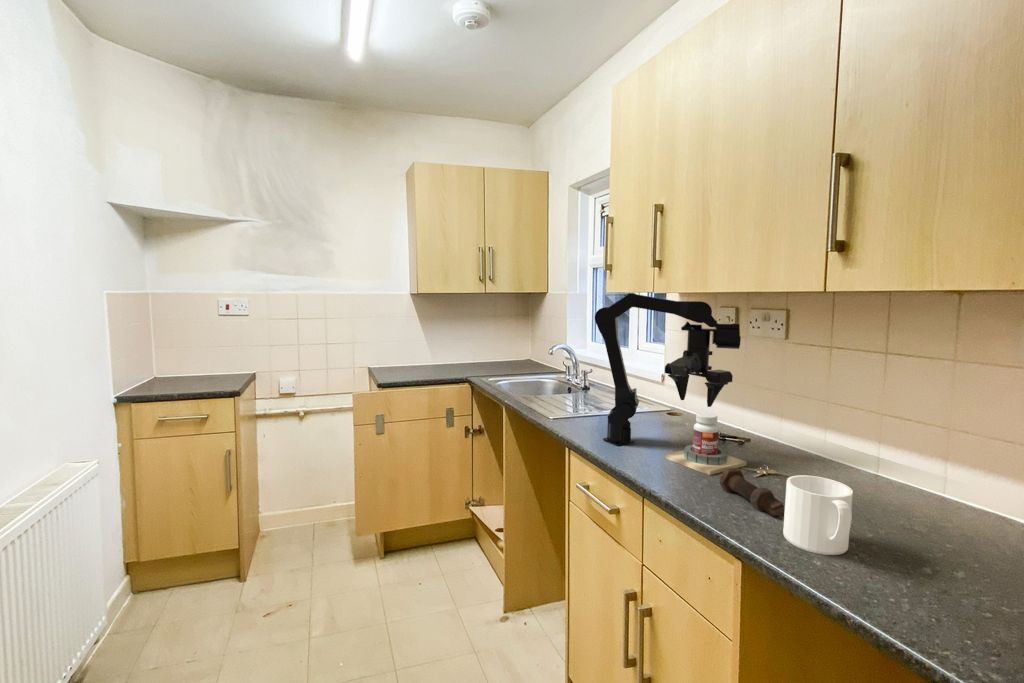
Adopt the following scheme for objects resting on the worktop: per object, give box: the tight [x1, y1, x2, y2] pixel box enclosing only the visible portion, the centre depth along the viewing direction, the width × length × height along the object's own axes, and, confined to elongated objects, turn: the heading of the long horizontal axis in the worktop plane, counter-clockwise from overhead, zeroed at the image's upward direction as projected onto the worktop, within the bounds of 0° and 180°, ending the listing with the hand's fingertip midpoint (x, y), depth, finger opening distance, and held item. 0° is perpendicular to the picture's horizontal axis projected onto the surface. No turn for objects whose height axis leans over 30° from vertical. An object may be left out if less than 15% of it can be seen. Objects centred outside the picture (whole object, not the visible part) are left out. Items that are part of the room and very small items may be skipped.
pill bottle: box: [692, 412, 720, 455], centre depth 132 cm, size 6×6×11 cm
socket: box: [664, 444, 748, 476], centre depth 133 cm, size 14×14×3 cm
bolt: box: [719, 468, 785, 517], centre depth 107 cm, size 6×5×15 cm
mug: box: [782, 474, 854, 556], centre depth 90 cm, size 13×10×10 cm
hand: (695, 403), depth 142 cm, fingers open, 9 cm apart
